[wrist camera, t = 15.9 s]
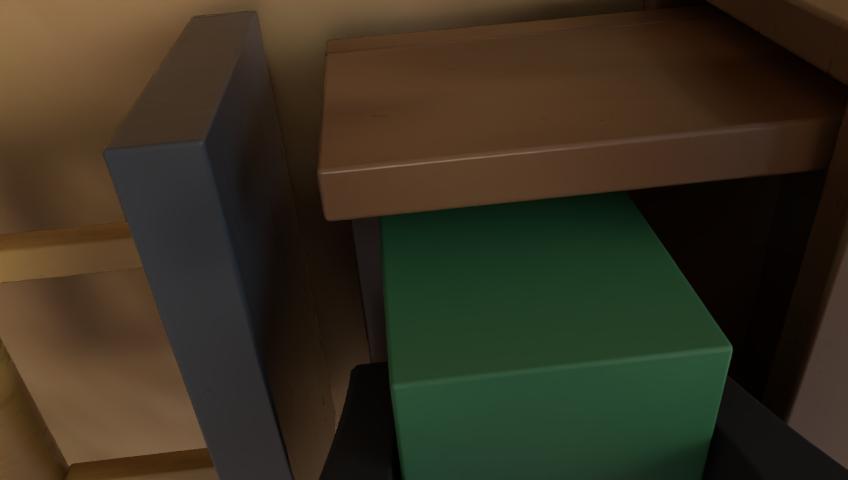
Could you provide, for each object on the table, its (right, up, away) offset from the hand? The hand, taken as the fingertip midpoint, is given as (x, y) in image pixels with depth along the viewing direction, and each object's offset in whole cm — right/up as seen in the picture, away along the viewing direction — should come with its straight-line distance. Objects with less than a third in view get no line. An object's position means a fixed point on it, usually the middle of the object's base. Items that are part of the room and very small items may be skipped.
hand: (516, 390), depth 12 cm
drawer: (-2, +3, +4) cm, 5 cm away
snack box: (0, +1, +1) cm, 1 cm away
